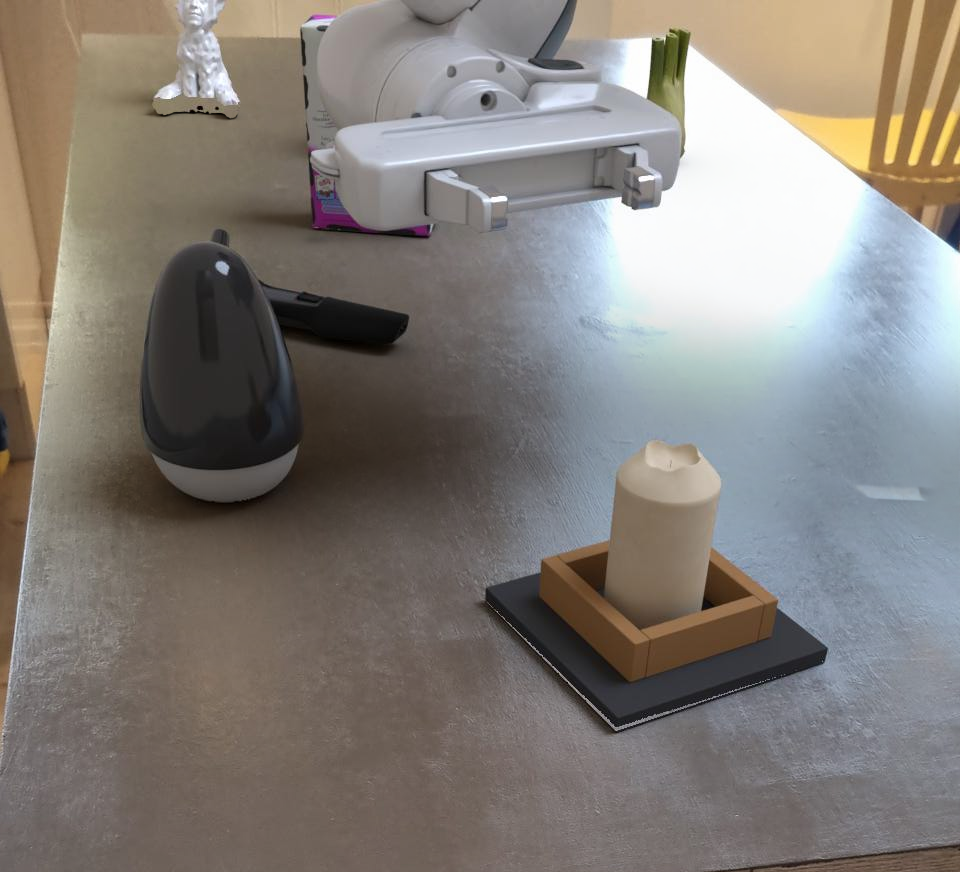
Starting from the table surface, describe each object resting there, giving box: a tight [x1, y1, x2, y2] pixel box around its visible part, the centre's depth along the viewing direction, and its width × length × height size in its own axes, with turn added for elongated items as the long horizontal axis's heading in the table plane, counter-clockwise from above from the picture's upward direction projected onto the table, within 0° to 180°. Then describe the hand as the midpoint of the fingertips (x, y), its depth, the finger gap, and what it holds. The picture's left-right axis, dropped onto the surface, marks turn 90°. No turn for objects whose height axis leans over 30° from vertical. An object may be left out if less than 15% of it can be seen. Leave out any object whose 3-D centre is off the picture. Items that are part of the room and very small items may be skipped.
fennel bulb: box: [645, 27, 691, 159], centre depth 138 cm, size 6×5×12 cm
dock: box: [484, 539, 829, 733], centre depth 77 cm, size 14×14×4 cm
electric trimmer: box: [257, 278, 410, 345], centre depth 107 cm, size 4×16×3 cm, turn 66°
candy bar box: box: [299, 14, 437, 237], centre depth 120 cm, size 11×5×16 cm, turn 82°
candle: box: [604, 439, 722, 630], centre depth 74 cm, size 6×6×10 cm
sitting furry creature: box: [153, 0, 241, 106], centre depth 148 cm, size 10×9×12 cm
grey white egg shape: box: [139, 228, 305, 503], centre depth 85 cm, size 10×10×15 cm
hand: (574, 204), depth 73 cm, fingers open, 8 cm apart
